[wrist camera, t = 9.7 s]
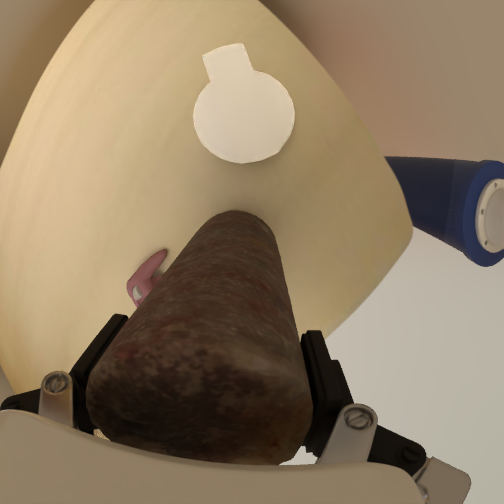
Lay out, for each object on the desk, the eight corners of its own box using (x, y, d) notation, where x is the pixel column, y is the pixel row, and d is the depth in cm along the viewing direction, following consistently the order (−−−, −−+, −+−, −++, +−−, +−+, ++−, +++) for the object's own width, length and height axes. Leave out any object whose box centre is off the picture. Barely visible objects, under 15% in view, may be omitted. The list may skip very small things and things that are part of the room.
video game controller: (148, 257, 34) (113, 291, 29) (164, 243, 32) (126, 279, 26) (197, 312, 37) (170, 349, 31) (217, 304, 34) (189, 345, 29)
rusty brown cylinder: (200, 200, 24) (53, 326, 5) (282, 210, 24) (368, 372, 5) (194, 278, 26) (113, 468, 7) (269, 288, 27) (290, 494, 8)
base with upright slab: (297, 150, 29) (323, 143, 17) (218, 173, 30) (196, 181, 18) (272, 77, 26) (283, 31, 15) (195, 100, 27) (161, 68, 15)
